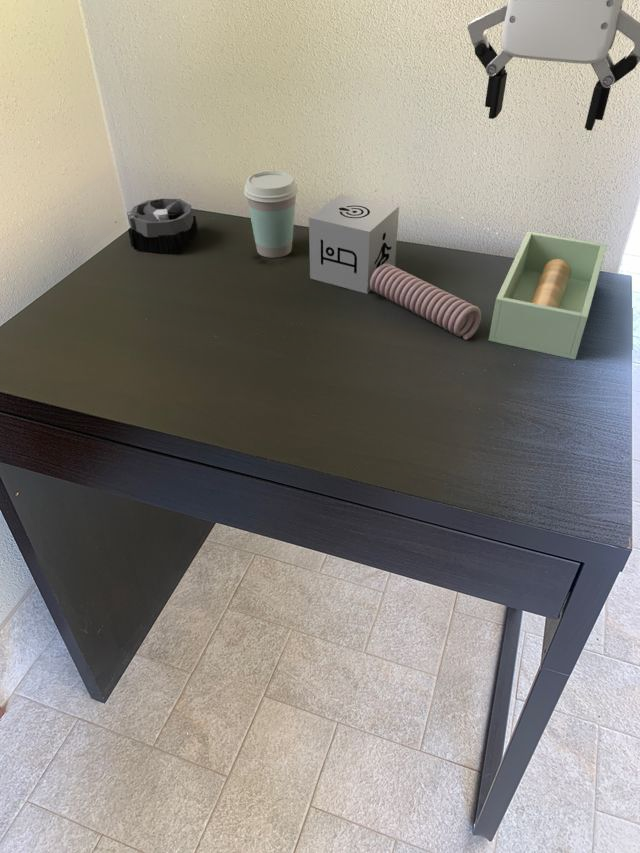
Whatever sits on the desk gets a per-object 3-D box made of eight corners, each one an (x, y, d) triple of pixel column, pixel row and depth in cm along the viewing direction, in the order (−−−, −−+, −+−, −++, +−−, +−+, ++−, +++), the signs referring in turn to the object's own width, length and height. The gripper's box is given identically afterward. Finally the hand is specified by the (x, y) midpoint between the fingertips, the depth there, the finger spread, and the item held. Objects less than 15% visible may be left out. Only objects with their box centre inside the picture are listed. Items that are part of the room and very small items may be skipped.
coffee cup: (307, 243, 116) (306, 173, 108) (286, 265, 110) (283, 193, 102) (262, 235, 119) (257, 165, 111) (239, 256, 113) (233, 185, 105)
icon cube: (310, 278, 107) (308, 217, 101) (340, 252, 114) (340, 193, 107) (367, 293, 103) (369, 231, 97) (395, 265, 110) (399, 206, 103)
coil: (367, 269, 100) (463, 318, 90) (389, 256, 102) (485, 302, 92) (368, 296, 103) (461, 346, 93) (389, 282, 105) (482, 330, 95)
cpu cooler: (200, 199, 116) (177, 224, 109) (204, 230, 120) (182, 257, 113) (143, 194, 118) (118, 219, 111) (149, 225, 122) (125, 251, 115)
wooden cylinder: (549, 287, 105) (539, 264, 103) (575, 278, 102) (565, 255, 101) (529, 341, 94) (518, 317, 92) (558, 332, 91) (546, 308, 90)
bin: (595, 284, 105) (606, 244, 101) (575, 359, 90) (587, 317, 86) (519, 270, 109) (527, 231, 104) (488, 340, 94) (496, 298, 89)
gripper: (691, -88, 59) (632, 119, 70) (492, -93, 64) (467, 101, 76) (688, -79, 54) (626, 143, 65) (472, -86, 59) (449, 121, 70)
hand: (541, 120), depth 70 cm, fingers open, 9 cm apart
